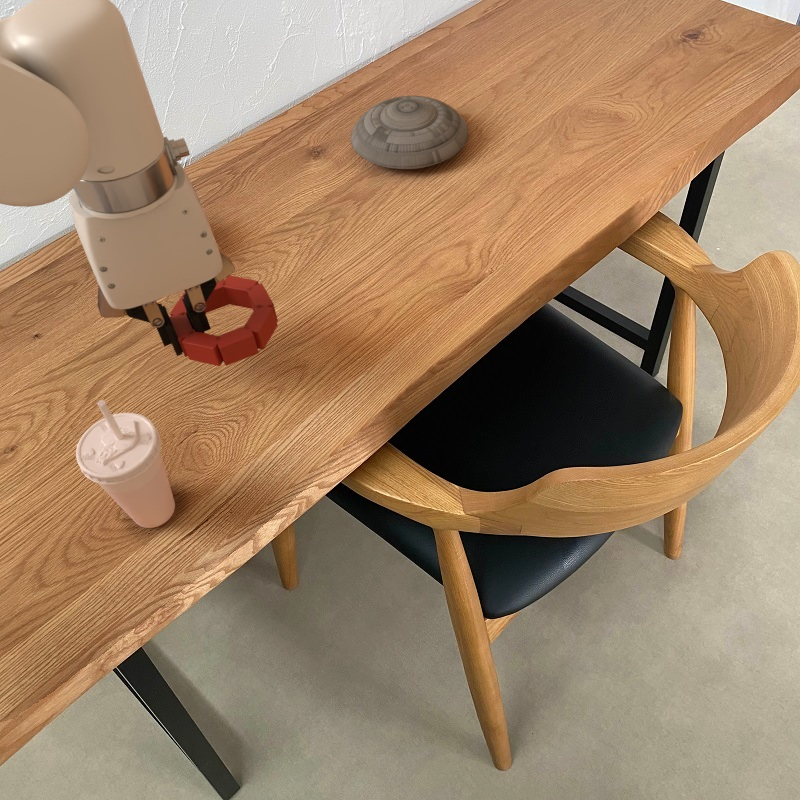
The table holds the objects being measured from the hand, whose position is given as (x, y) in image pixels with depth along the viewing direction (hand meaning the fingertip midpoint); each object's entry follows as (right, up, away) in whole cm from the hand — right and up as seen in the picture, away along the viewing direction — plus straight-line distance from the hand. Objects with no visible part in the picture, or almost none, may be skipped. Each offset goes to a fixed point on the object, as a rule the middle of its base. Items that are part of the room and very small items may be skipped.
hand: (188, 339), depth 74 cm
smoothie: (-2, -15, -5) cm, 16 cm away
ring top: (+3, +1, +1) cm, 4 cm away
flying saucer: (+21, +27, +28) cm, 44 cm away
